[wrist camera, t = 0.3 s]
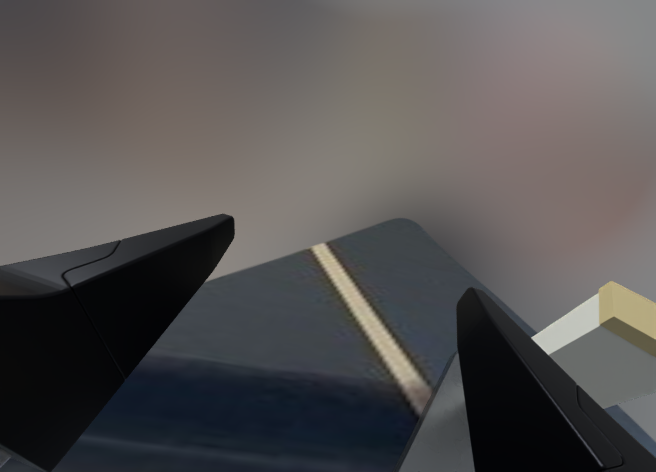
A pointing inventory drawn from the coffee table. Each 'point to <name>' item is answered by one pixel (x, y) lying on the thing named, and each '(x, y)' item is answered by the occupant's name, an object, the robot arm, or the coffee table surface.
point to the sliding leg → (607, 345)
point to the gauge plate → (441, 429)
